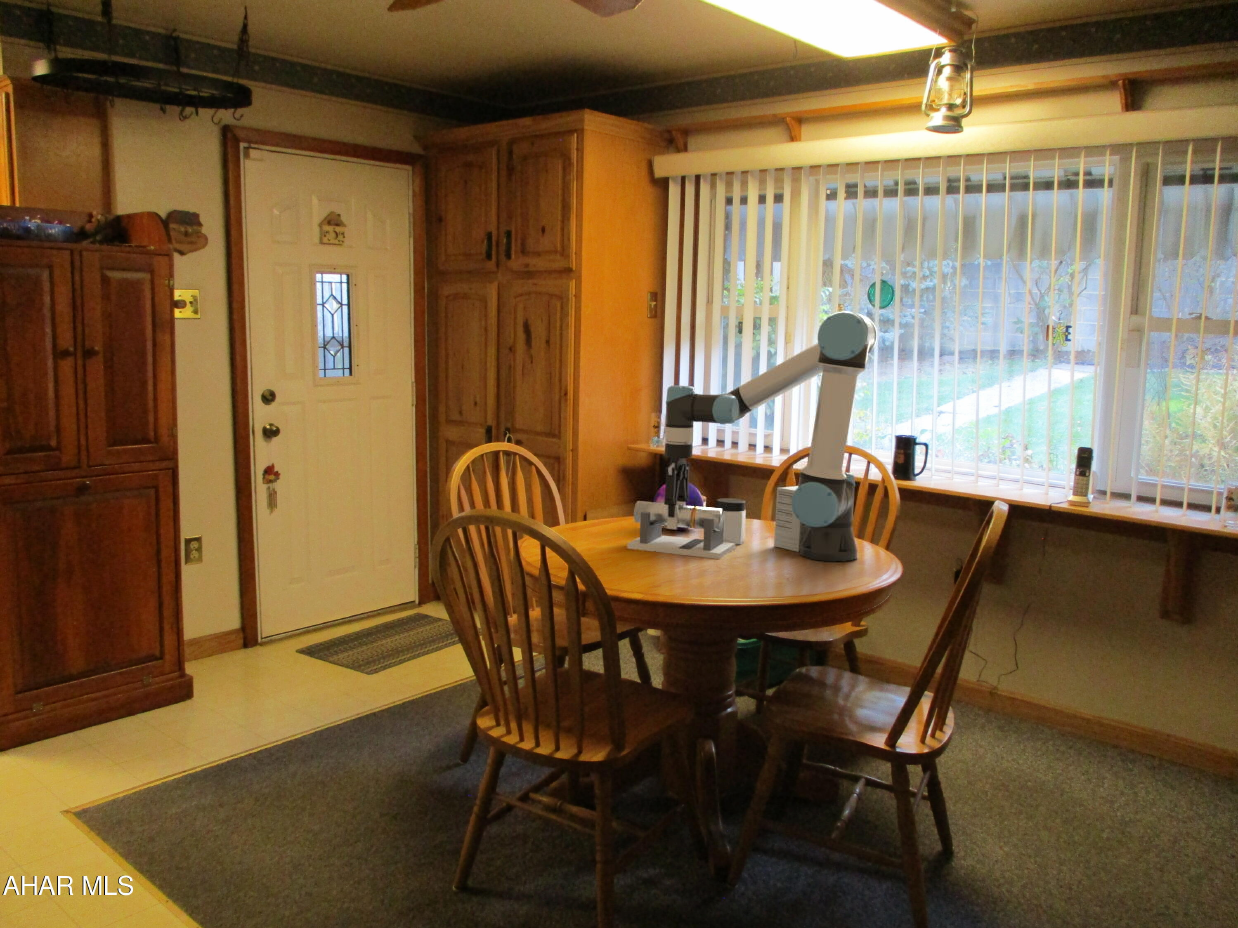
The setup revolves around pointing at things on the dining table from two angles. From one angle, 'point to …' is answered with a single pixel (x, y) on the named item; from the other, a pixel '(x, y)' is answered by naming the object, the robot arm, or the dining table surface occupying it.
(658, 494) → the decorative orb
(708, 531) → the cradle stand
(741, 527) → the jar
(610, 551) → the dining table surface
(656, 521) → the steel tube
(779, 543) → the supplement box
